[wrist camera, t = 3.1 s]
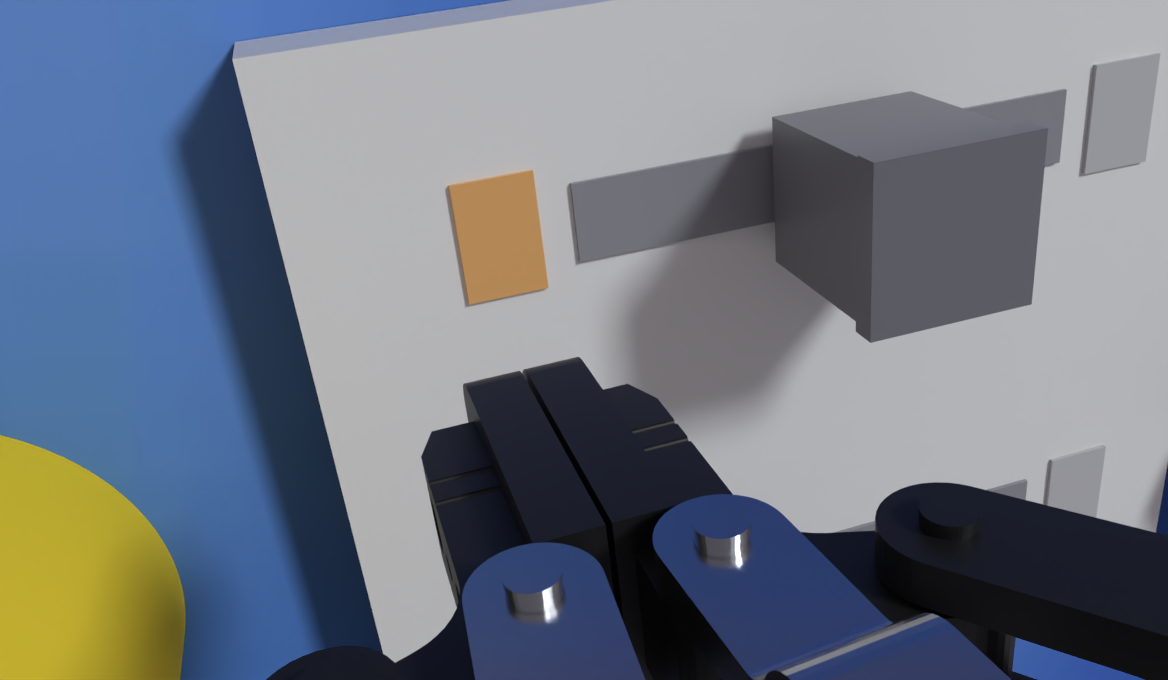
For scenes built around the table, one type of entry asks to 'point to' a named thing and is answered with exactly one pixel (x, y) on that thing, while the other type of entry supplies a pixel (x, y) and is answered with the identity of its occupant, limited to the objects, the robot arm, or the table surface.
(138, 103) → the table surface
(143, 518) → the tape roll
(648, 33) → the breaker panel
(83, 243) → the table surface
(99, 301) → the table surface
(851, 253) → the handle
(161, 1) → the table surface
